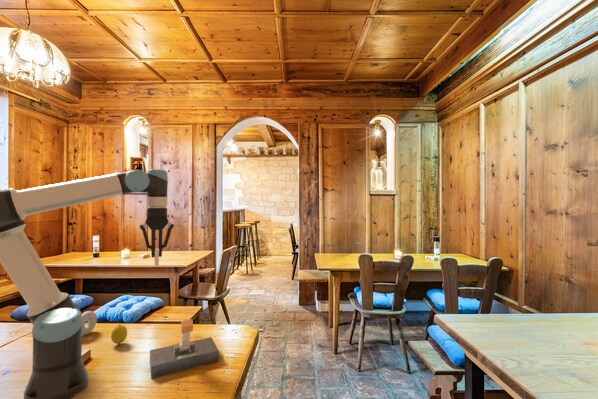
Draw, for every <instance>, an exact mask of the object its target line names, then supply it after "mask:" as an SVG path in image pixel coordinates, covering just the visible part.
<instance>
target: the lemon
mask: <svg viewBox="0 0 598 399" xmlns="http://www.w3.org/2000/svg"><path fill="white" fill-rule="evenodd" d="M127 329H128V328H127V327H126V326H125V325H123V324H118V325H116V326H115V327H113V329H112V331H111V336H110V339H111V341H112V343H114V344H116V345H121V344H122V343H123V342H125V340H126V339H127V335H128V330H127Z"/></svg>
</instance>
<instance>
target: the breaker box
mask: <svg viewBox="0 0 598 399" xmlns="http://www.w3.org/2000/svg"><path fill="white" fill-rule="evenodd" d="M180 344H181V342H180V343H175V344H172V345H168V346H164V347H159V348H154V349H150V350H149V365H150V378H151V379H157V378H161V377H164V376H168V375H172V374H176V373H180V372H183V371H187V370H190V369H195V368H198V367H202V366H208V365H210V364H214V363H218V362H219V361H220V360H219V358H220V356H219V348H218V347H217V345H216V343H215V342H214V339H213V337H212V336H211V337H205V338H201V339H200V338H199V339H197V340H192V341H191V340H189V349H186V350H182V351H180Z"/></svg>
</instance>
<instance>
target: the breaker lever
mask: <svg viewBox="0 0 598 399" xmlns="http://www.w3.org/2000/svg"><path fill="white" fill-rule="evenodd" d="M193 329H194V321H193V319H192V318H189V319H186V320H181V321H180V332H181V339H180V343H181V344H180V351H182V350H186V349H189V341H190V337H191V332H193Z"/></svg>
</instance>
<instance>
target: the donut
mask: <svg viewBox="0 0 598 399" xmlns="http://www.w3.org/2000/svg"><path fill="white" fill-rule="evenodd" d="M81 314H82V318H83V323H82V337H84V336H86V335H89V334H90V333H91V332H92V331H93V330H94V329H95V327H96V325H97V323H98V318H97V317H98V316H97V314H96V312H94V311H92V310H87V311H84V312H83V313H81Z"/></svg>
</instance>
